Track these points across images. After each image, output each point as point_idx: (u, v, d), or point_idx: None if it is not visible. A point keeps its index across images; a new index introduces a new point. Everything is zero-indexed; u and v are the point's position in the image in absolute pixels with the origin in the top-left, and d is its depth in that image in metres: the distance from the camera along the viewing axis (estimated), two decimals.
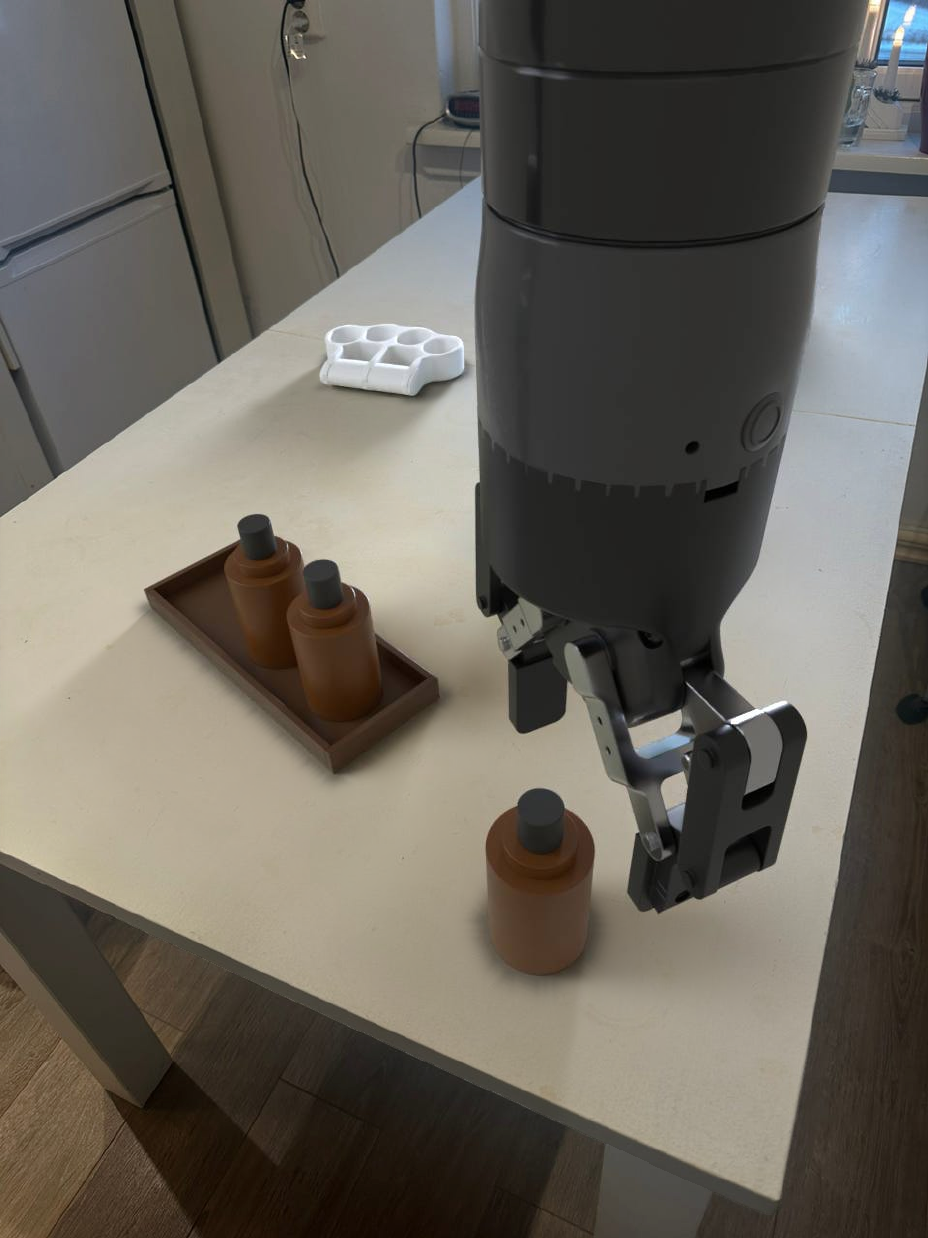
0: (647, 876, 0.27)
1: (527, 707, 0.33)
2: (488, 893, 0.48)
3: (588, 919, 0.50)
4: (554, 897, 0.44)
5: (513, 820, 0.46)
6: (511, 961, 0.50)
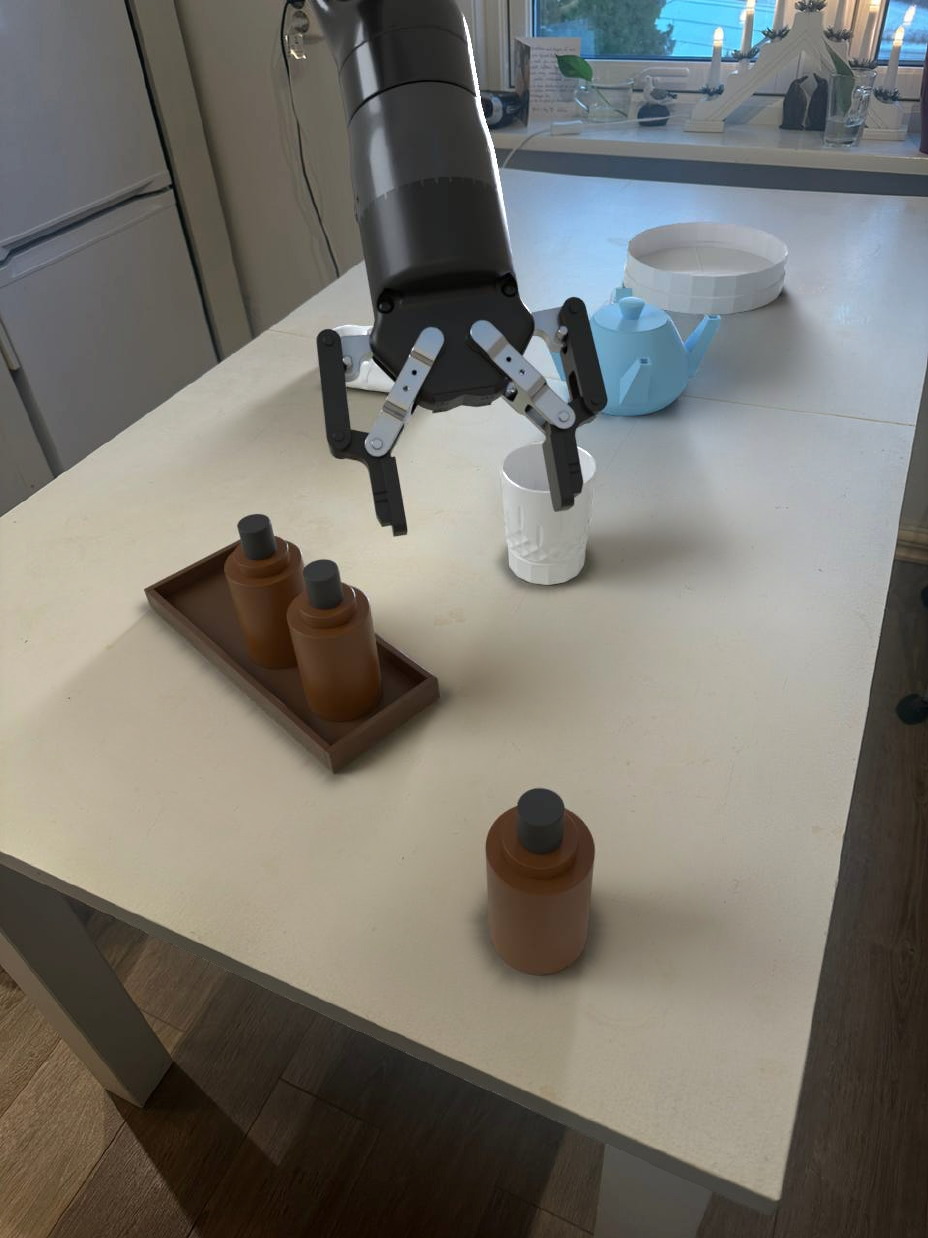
0: None
1: None
2: (488, 893, 0.48)
3: (588, 919, 0.50)
4: (554, 897, 0.44)
5: (513, 820, 0.46)
6: (511, 961, 0.50)
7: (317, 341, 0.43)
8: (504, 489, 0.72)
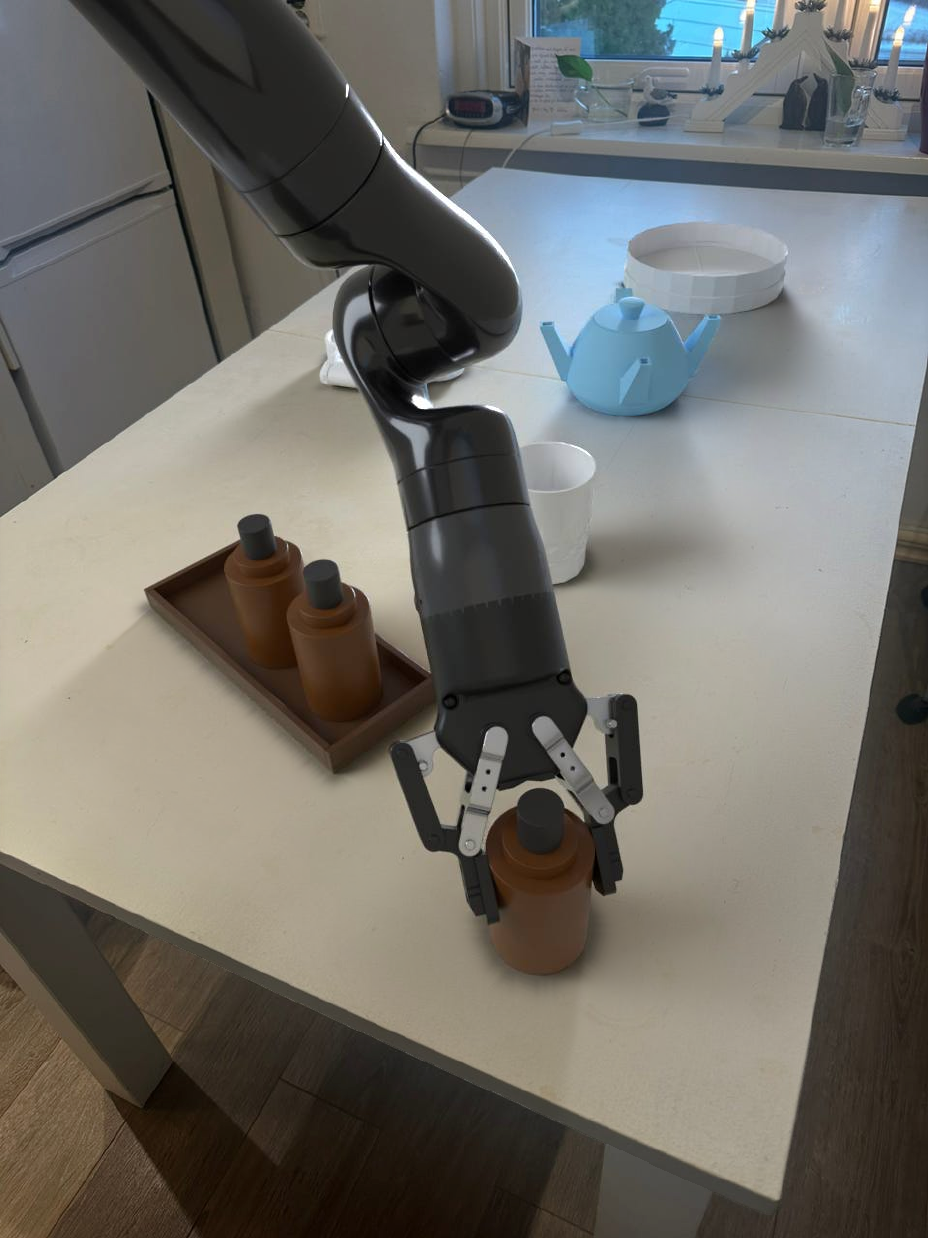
0: (607, 854, 0.47)
1: None
2: None
3: (588, 919, 0.50)
4: (554, 898, 0.44)
5: (513, 820, 0.46)
6: (511, 961, 0.50)
7: (392, 757, 0.45)
8: None
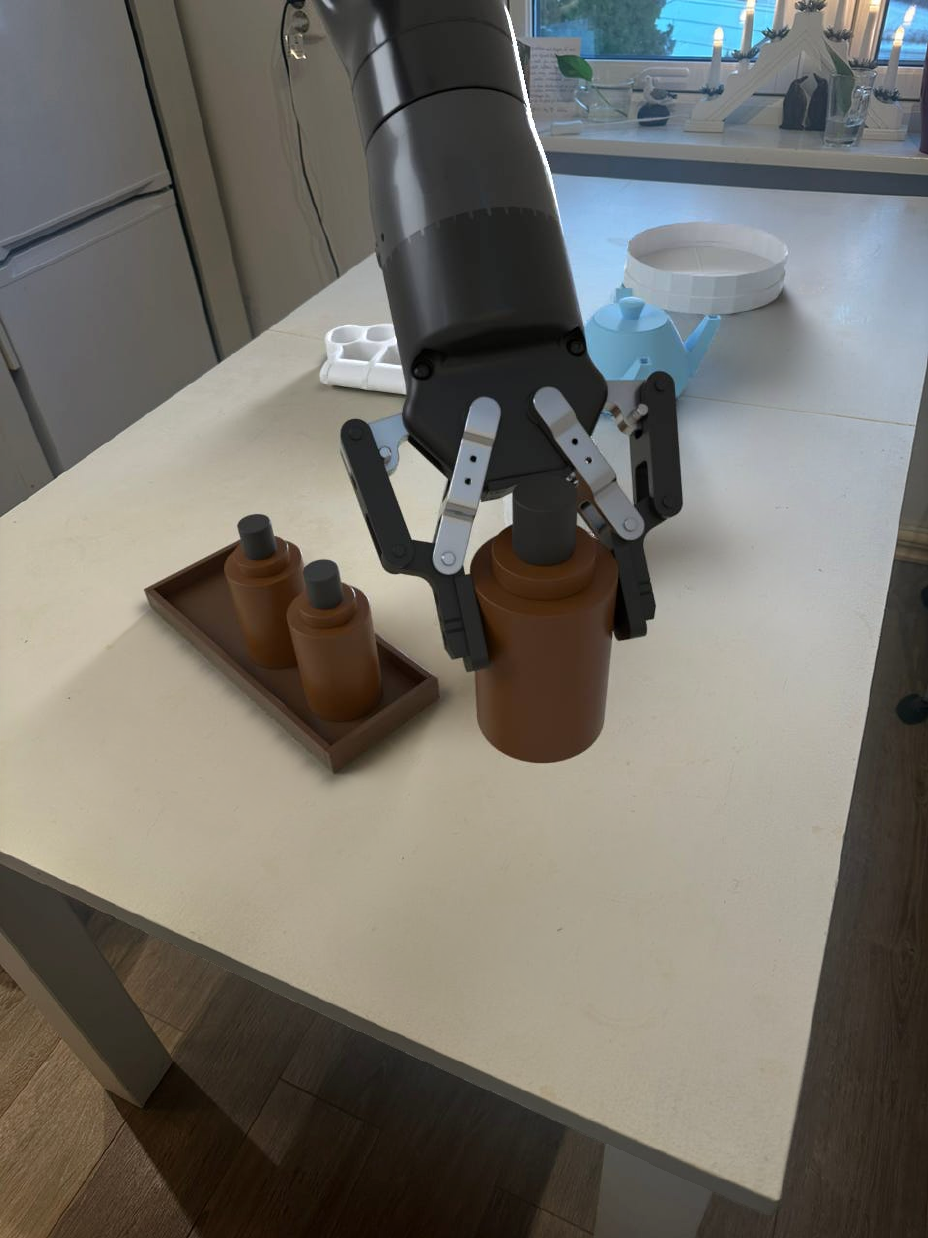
0: None
1: None
2: None
3: None
4: (563, 622, 0.32)
5: (507, 533, 0.34)
6: (505, 745, 0.38)
7: (342, 438, 0.33)
8: None
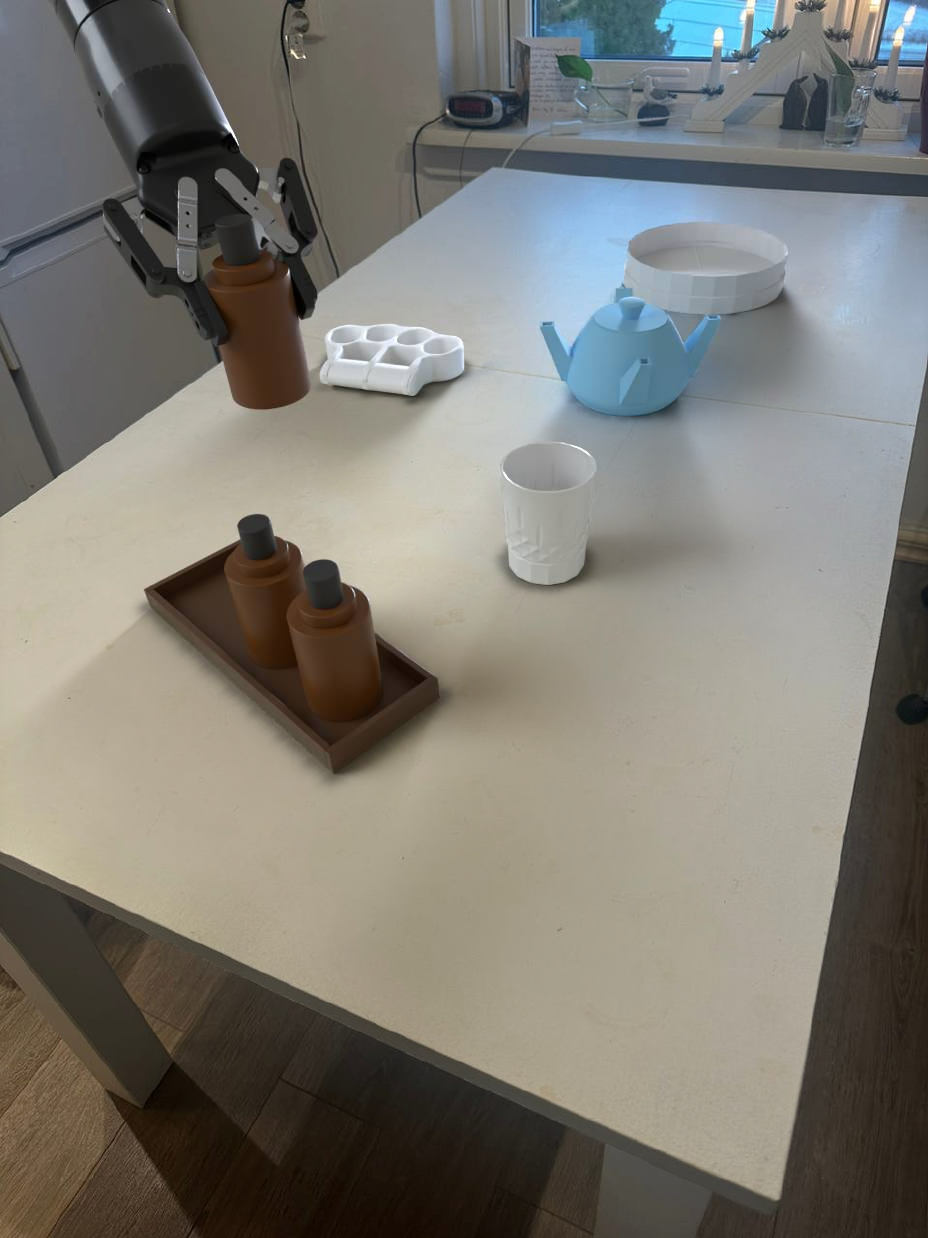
0: None
1: None
2: None
3: (306, 359, 0.63)
4: (262, 292, 0.57)
5: (219, 257, 0.58)
6: (253, 400, 0.62)
7: (104, 210, 0.55)
8: (504, 489, 0.72)
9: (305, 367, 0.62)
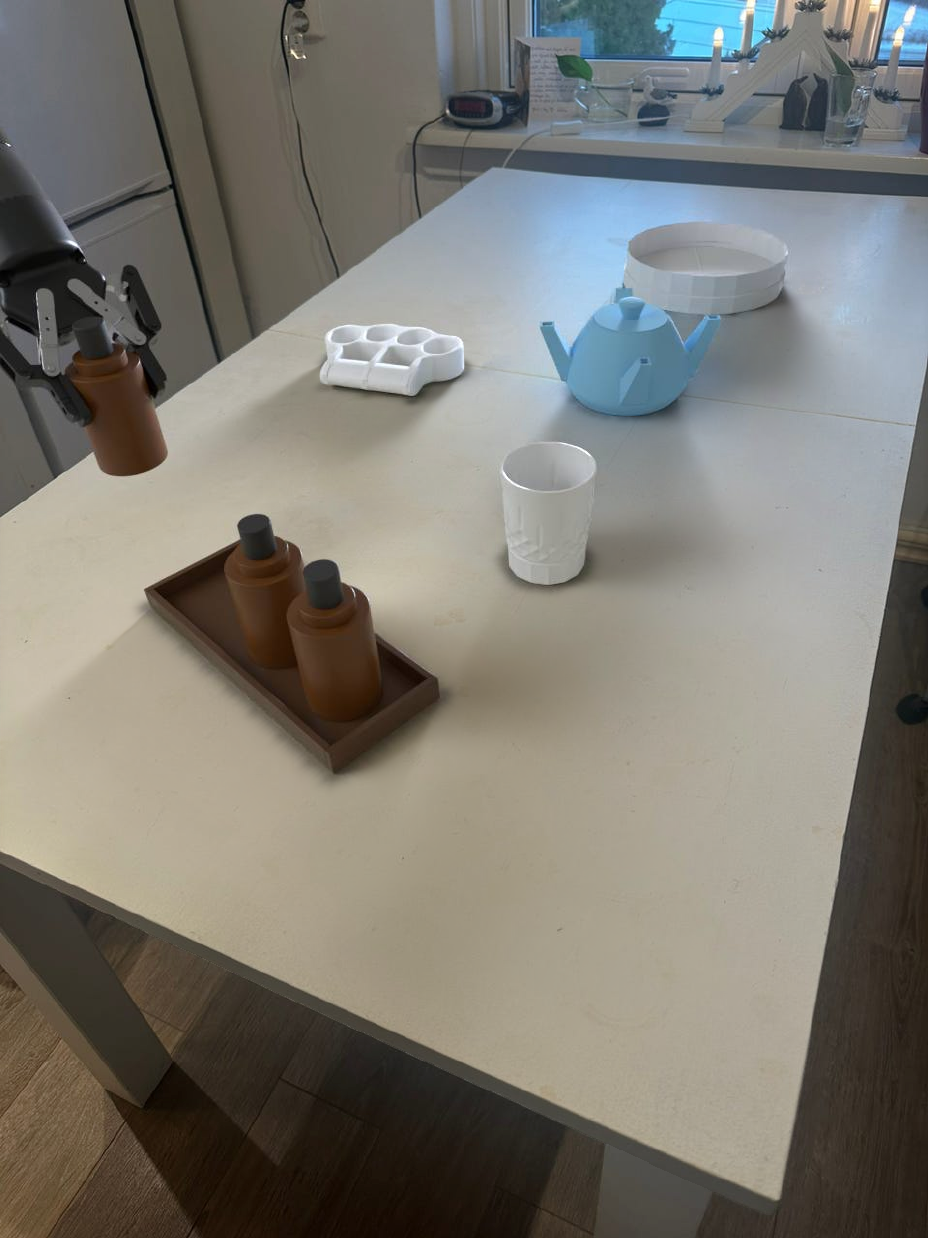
0: None
1: None
2: None
3: (161, 430, 0.74)
4: (119, 380, 0.68)
5: (78, 353, 0.69)
6: (118, 469, 0.72)
7: None
8: (504, 489, 0.72)
9: (161, 437, 0.74)
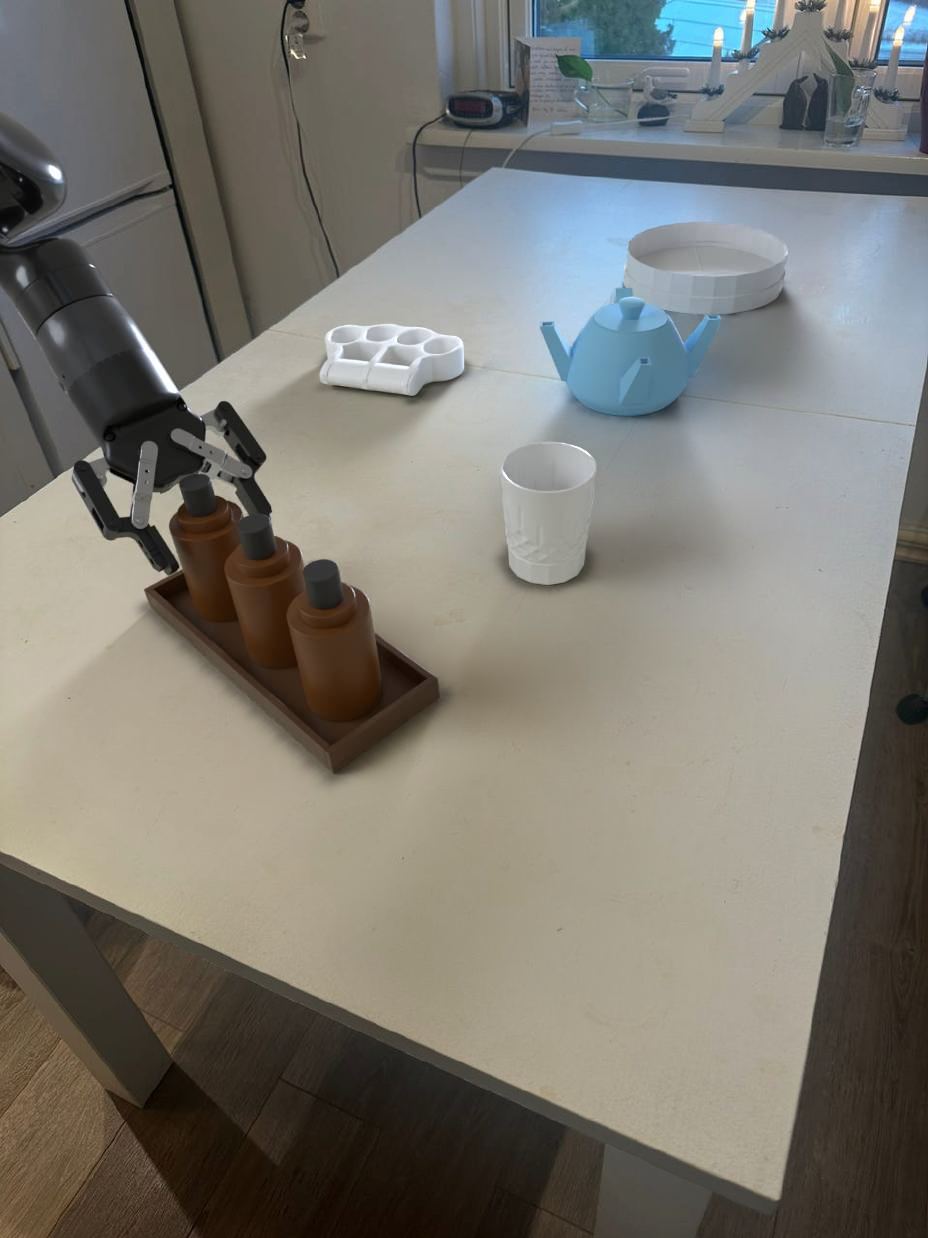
0: (257, 496, 0.71)
1: None
2: (184, 569, 0.71)
3: None
4: (224, 537, 0.68)
5: (182, 508, 0.69)
6: (217, 616, 0.73)
7: (75, 470, 0.65)
8: (504, 489, 0.72)
9: None
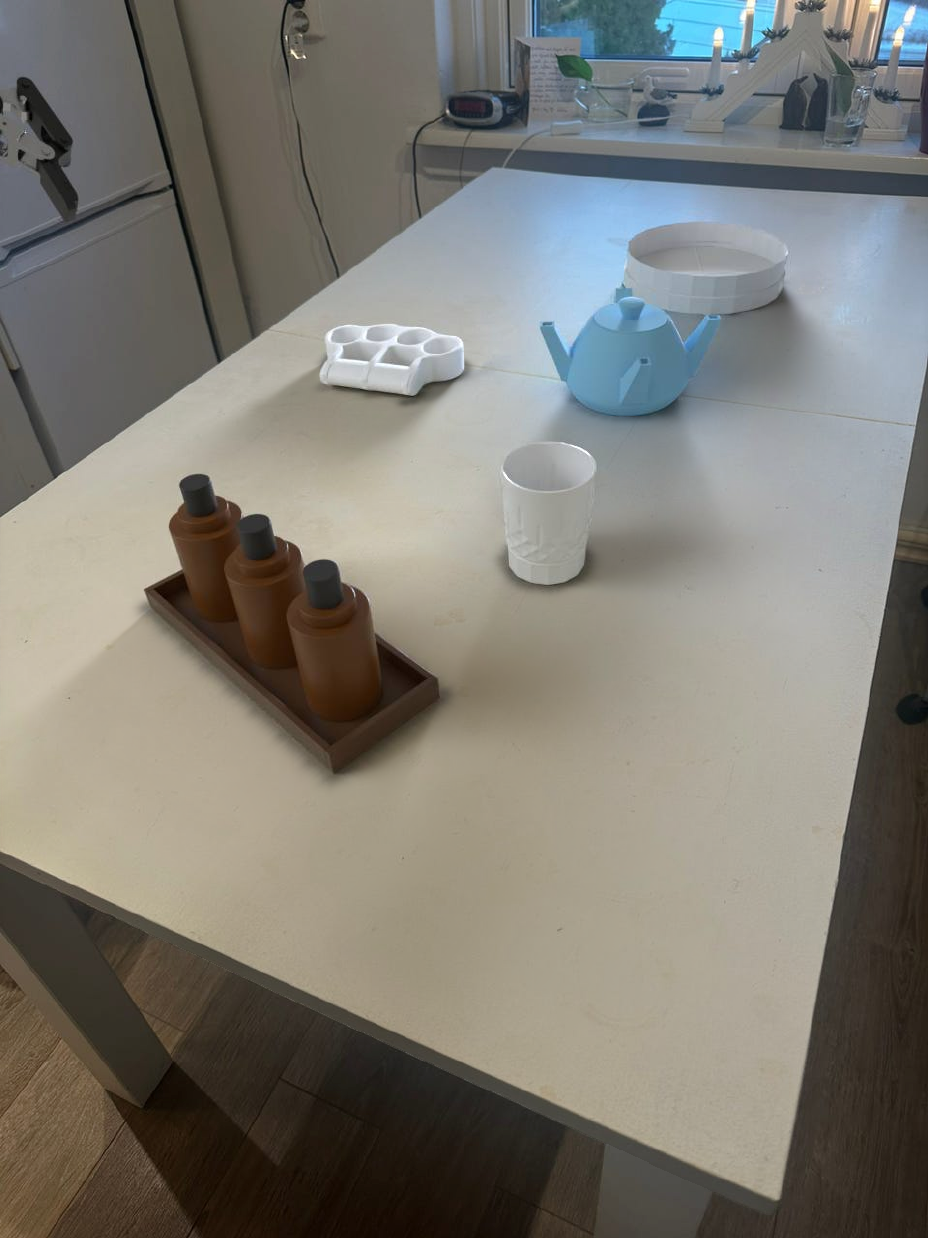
0: (60, 180, 0.66)
1: None
2: (184, 569, 0.71)
3: None
4: (224, 537, 0.68)
5: (182, 508, 0.69)
6: (217, 616, 0.73)
7: None
8: (504, 489, 0.72)
9: None
